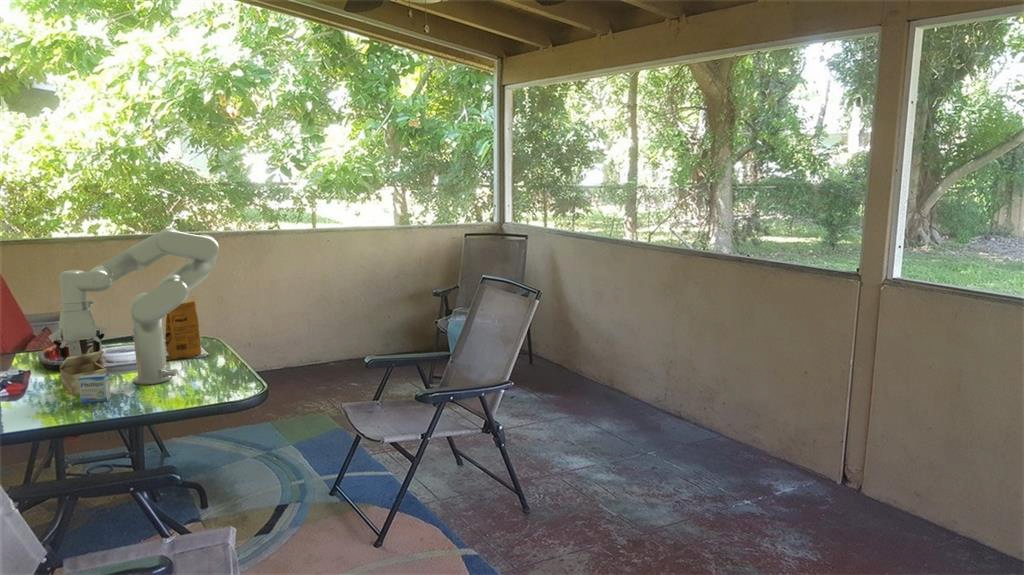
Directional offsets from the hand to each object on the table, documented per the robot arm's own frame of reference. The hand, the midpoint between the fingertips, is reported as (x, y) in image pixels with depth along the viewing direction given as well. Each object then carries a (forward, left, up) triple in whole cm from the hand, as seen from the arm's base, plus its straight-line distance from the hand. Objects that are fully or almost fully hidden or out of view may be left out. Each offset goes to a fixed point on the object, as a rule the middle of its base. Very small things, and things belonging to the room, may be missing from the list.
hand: (80, 355), depth 241 cm
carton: (0, -1, -12) cm, 12 cm away
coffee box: (+10, -16, -12) cm, 23 cm away
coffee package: (-12, -43, -12) cm, 47 cm away
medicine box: (-12, +11, -12) cm, 20 cm away
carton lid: (+1, -1, -2) cm, 3 cm away
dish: (+31, -31, -12) cm, 45 cm away
